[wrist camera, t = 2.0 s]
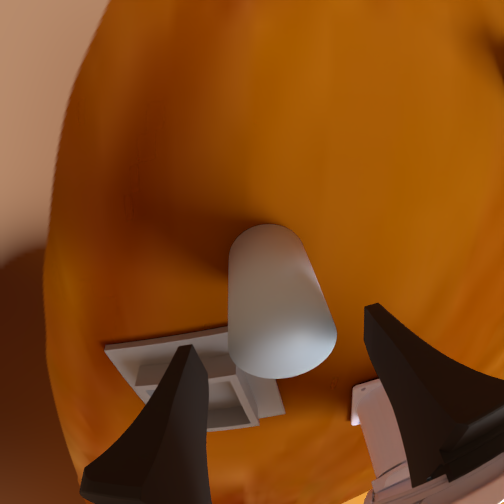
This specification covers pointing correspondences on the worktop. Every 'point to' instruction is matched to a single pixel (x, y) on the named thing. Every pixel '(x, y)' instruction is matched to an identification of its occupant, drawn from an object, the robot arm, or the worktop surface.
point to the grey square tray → (219, 377)
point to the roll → (275, 305)
